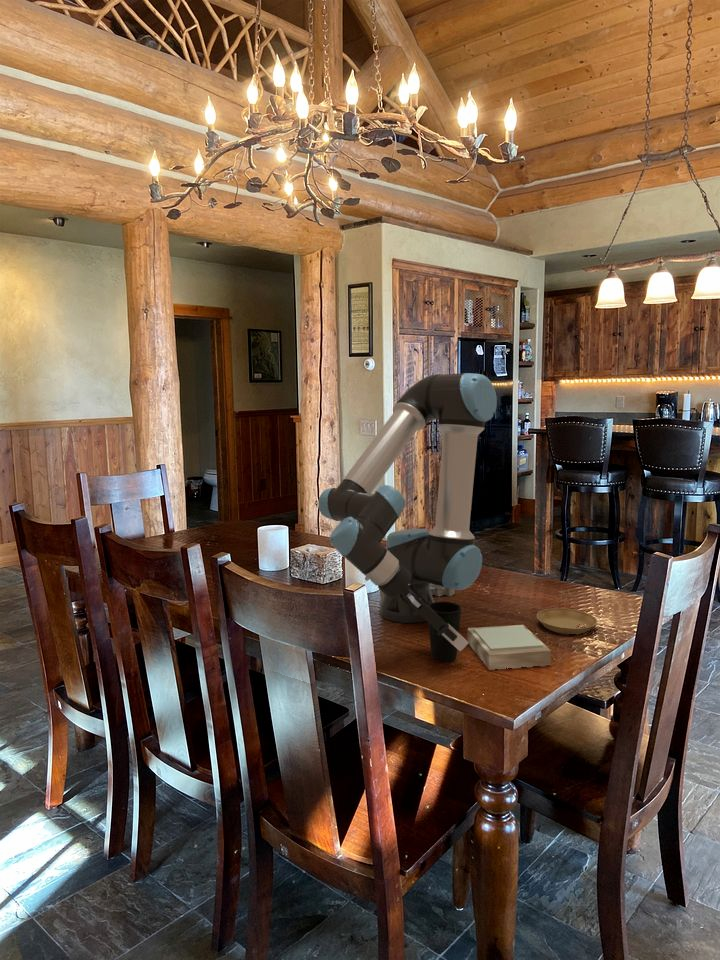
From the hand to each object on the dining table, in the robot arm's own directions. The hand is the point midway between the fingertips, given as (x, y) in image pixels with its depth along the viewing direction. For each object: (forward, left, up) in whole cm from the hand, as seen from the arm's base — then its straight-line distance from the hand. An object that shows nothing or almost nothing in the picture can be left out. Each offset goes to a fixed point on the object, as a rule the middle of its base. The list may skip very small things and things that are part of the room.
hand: (458, 639), depth 148 cm
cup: (0, -3, -4) cm, 6 cm away
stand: (0, +12, -4) cm, 12 cm away
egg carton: (-46, +7, -5) cm, 47 cm away
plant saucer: (-14, +33, -5) cm, 36 cm away
